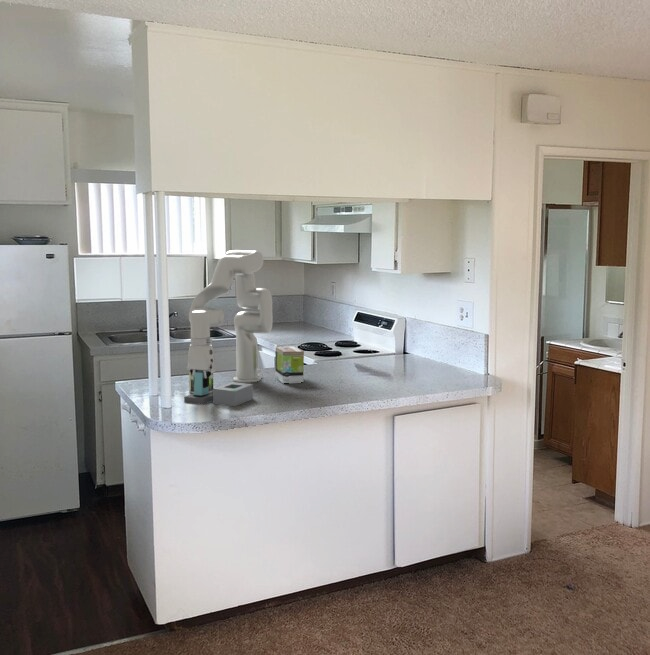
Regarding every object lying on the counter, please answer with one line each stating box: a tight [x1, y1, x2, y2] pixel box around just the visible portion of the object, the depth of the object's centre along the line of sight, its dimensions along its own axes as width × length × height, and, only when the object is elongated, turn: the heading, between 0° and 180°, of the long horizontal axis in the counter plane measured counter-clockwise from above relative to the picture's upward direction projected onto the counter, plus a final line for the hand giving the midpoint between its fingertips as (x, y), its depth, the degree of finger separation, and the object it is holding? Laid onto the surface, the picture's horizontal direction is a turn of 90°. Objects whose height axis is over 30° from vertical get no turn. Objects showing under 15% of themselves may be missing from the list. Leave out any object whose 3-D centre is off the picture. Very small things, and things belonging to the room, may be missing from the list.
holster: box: [183, 392, 213, 405], centre depth 284 cm, size 10×9×2 cm
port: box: [212, 381, 254, 407], centre depth 284 cm, size 14×10×6 cm
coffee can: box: [188, 369, 214, 394], centre depth 300 cm, size 10×10×14 cm
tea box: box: [274, 346, 305, 384], centre depth 324 cm, size 15×10×15 cm, turn 18°
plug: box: [194, 370, 209, 396], centre depth 284 cm, size 5×4×11 cm
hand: (201, 386), depth 284 cm, fingers closed on plug, 3 cm apart
